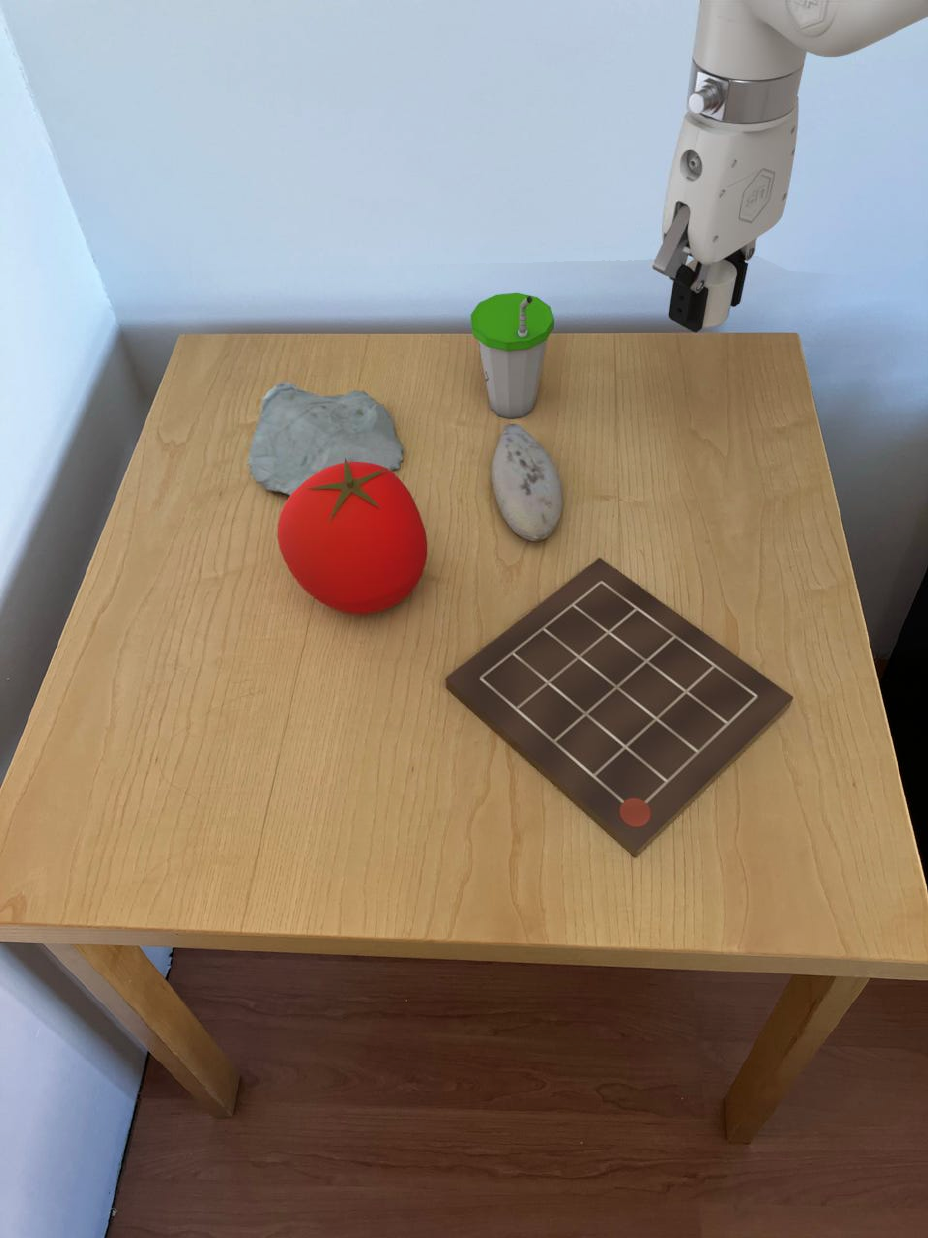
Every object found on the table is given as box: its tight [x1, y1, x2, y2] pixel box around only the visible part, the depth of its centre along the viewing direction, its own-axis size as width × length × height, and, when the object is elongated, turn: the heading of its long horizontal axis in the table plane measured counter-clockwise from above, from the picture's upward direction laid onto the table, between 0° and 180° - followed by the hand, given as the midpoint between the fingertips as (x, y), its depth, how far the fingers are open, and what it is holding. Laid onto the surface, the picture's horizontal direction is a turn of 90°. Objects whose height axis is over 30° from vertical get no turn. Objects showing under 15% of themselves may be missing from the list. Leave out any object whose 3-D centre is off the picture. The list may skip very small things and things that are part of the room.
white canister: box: [686, 258, 737, 328], centre depth 80 cm, size 4×4×4 cm
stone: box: [247, 381, 404, 497], centre depth 93 cm, size 16×4×15 cm
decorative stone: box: [491, 423, 564, 542], centre depth 88 cm, size 6×16×3 cm, turn 10°
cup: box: [470, 292, 555, 420], centre depth 92 cm, size 8×8×15 cm
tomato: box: [276, 457, 428, 615], centre depth 79 cm, size 12×12×13 cm
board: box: [445, 557, 794, 859], centre depth 75 cm, size 20×18×2 cm
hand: (704, 309), depth 81 cm, fingers closed on white canister, 4 cm apart
